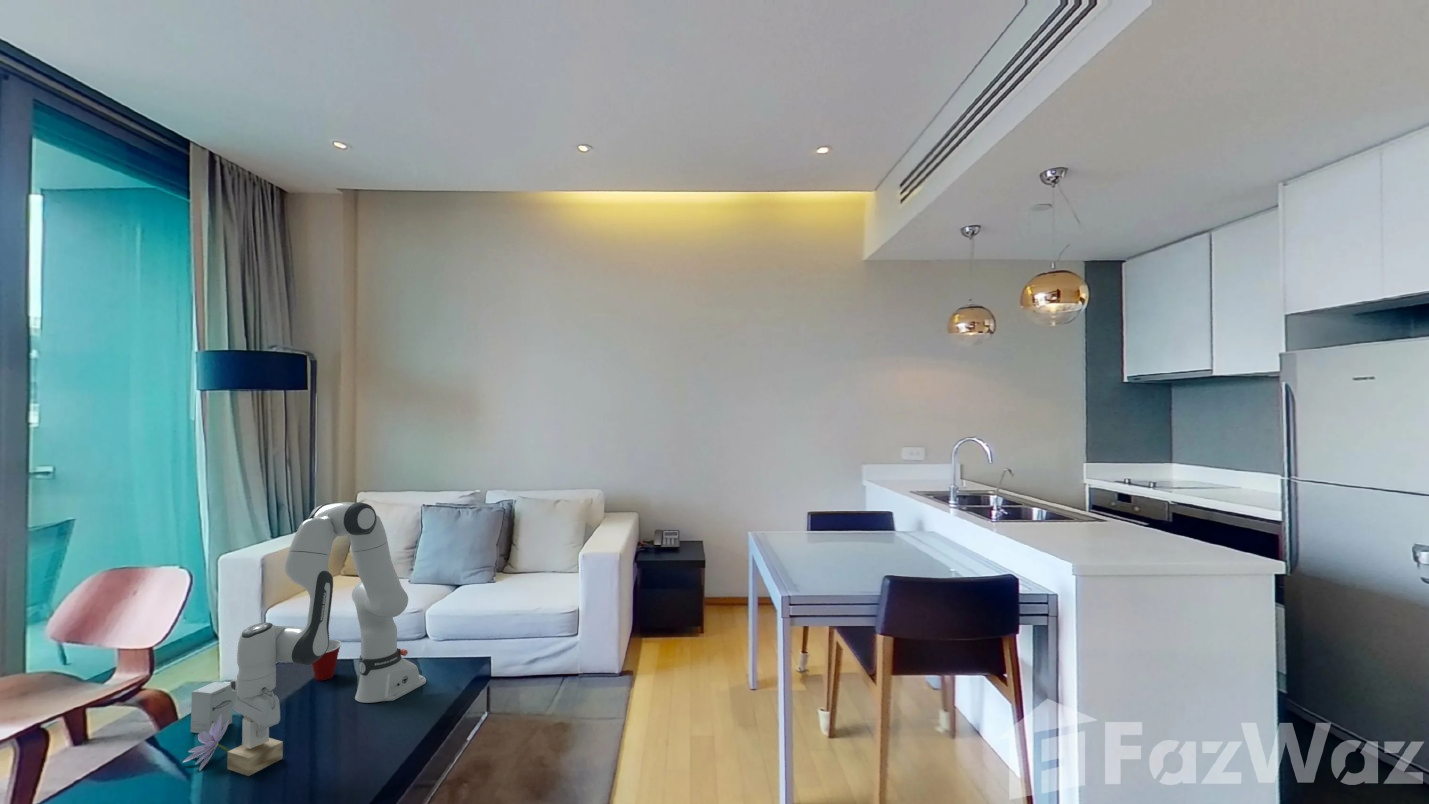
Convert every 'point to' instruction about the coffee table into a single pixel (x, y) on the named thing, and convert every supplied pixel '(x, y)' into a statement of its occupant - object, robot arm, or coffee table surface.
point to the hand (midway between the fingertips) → (256, 733)
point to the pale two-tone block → (252, 734)
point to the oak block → (254, 757)
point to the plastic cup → (327, 661)
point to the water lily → (208, 743)
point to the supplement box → (211, 706)
